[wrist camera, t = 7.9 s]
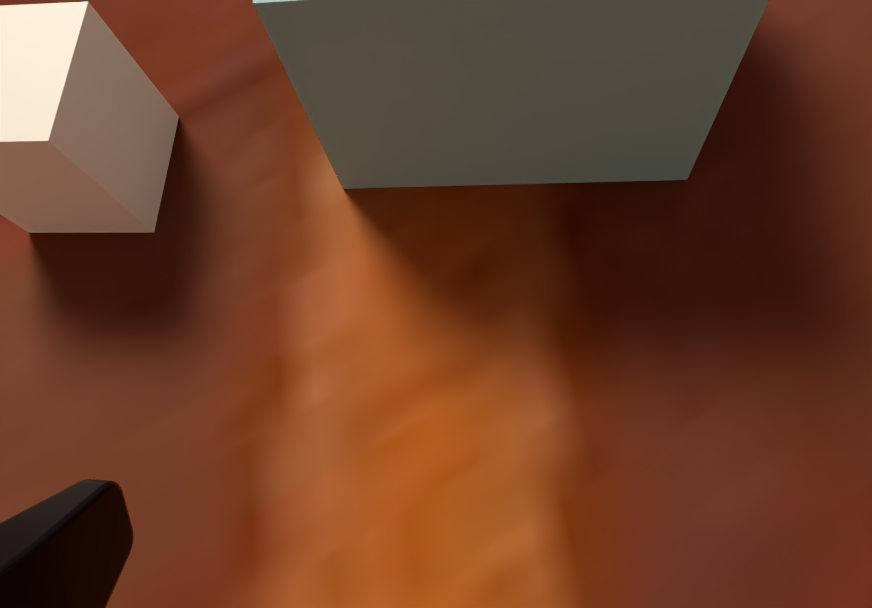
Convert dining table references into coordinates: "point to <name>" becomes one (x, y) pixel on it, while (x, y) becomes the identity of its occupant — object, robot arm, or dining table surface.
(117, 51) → the cream block
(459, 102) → the teal block
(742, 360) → the dining table surface
